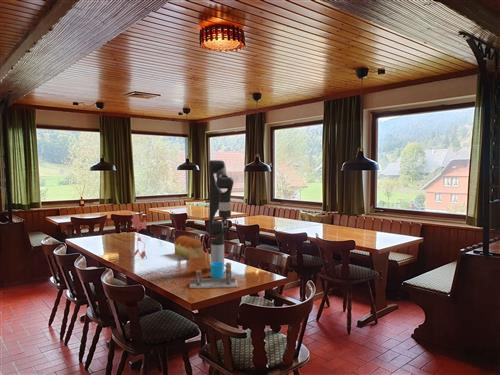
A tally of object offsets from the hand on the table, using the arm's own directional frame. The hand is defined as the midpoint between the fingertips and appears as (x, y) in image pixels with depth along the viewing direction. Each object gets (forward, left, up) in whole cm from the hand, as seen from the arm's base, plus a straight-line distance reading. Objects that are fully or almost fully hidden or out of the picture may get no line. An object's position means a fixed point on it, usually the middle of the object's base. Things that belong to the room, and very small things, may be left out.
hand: (224, 235), depth 236 cm
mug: (-10, -3, -28) cm, 30 cm away
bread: (-70, -26, -28) cm, 80 cm away
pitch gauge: (+10, -7, -28) cm, 31 cm away
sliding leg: (+9, +2, -26) cm, 27 cm away
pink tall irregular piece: (-63, -66, -28) cm, 96 cm away
